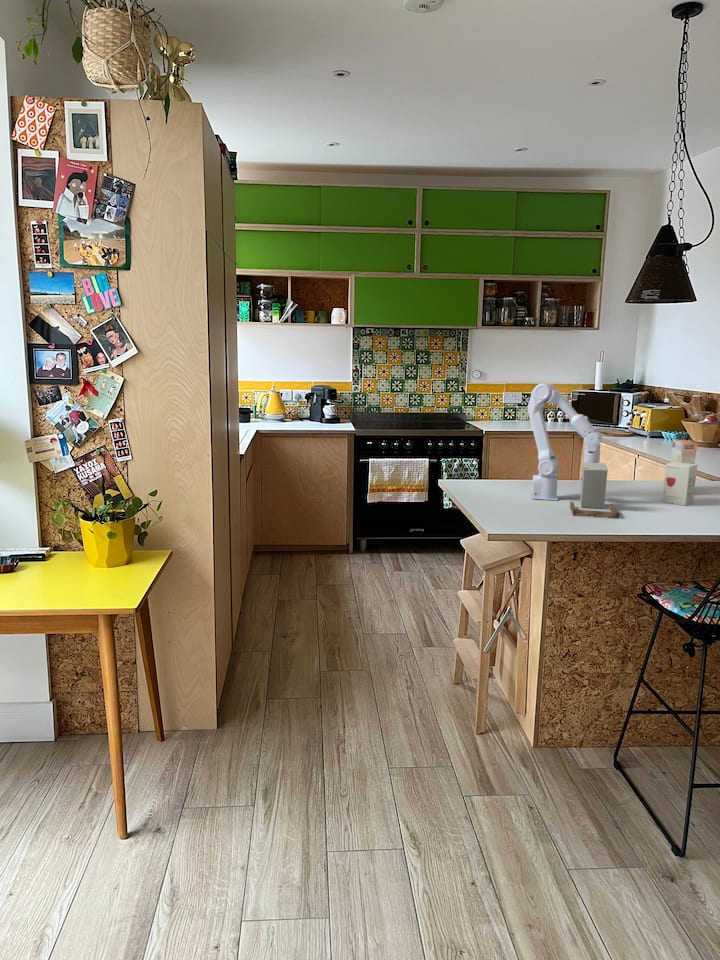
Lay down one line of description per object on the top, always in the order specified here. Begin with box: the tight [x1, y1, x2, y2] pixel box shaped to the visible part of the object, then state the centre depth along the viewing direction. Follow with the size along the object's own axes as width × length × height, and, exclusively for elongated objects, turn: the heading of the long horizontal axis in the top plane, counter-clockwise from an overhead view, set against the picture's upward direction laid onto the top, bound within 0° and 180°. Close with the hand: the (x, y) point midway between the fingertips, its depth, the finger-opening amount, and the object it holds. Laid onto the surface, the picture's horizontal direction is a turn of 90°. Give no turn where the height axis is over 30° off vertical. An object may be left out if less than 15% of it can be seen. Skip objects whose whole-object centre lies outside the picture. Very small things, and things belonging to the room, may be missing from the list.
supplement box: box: [661, 461, 698, 506], centre depth 270 cm, size 9×9×15 cm
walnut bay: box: [569, 501, 620, 519], centre depth 251 cm, size 15×14×2 cm
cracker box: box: [670, 438, 698, 464], centre depth 291 cm, size 14×6×21 cm, turn 171°
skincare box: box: [579, 461, 608, 509], centre depth 257 cm, size 8×7×16 cm
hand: (588, 498), depth 267 cm, fingers open, 6 cm apart
